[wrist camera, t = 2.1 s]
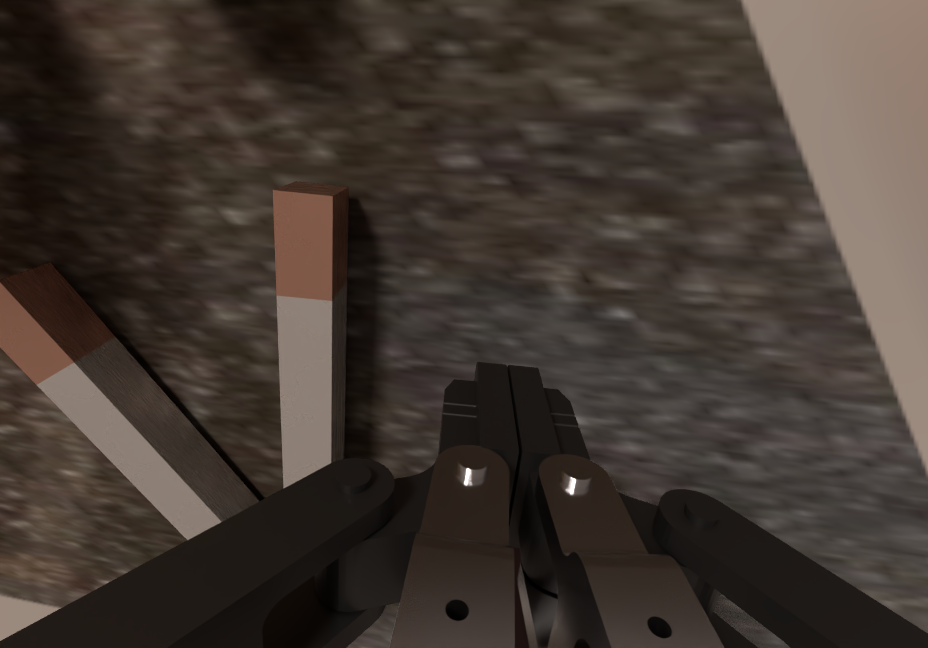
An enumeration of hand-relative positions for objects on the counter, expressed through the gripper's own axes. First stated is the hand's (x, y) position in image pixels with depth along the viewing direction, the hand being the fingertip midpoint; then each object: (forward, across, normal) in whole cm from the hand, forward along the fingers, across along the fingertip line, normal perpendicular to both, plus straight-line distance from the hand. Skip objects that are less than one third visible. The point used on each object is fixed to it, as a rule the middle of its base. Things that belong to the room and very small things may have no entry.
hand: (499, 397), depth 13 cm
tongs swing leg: (+13, +8, +8) cm, 17 cm away
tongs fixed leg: (+13, +13, +12) cm, 22 cm away
